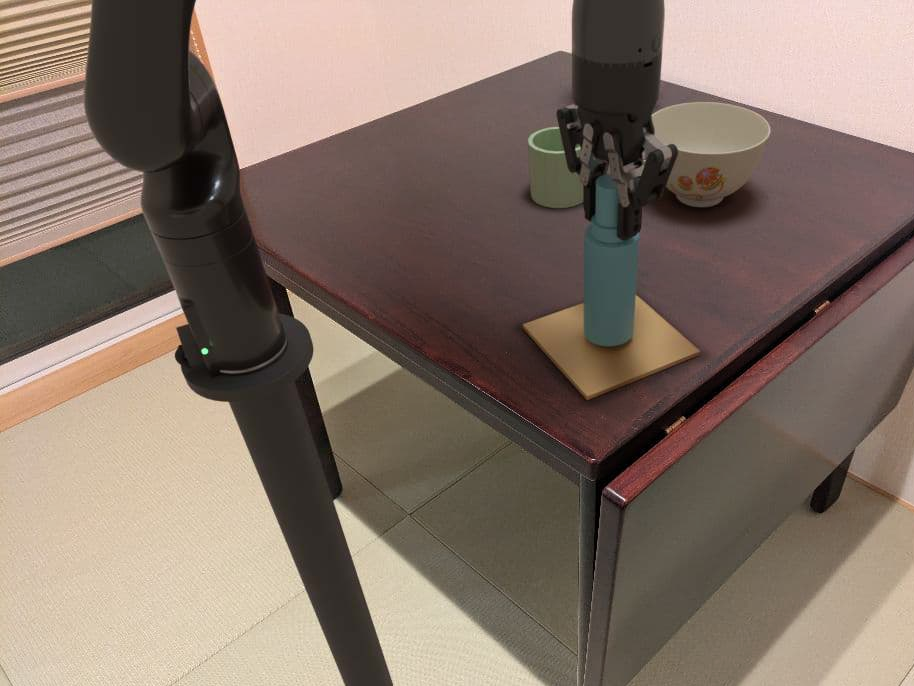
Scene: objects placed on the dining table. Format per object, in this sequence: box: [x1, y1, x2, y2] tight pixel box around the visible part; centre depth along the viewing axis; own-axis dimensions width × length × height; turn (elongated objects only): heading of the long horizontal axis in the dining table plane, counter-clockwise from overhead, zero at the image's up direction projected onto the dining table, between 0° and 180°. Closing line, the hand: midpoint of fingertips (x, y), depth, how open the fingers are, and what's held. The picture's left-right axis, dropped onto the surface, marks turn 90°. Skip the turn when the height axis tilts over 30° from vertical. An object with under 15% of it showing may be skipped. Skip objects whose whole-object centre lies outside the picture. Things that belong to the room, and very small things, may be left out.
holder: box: [527, 126, 584, 209], centre depth 109 cm, size 8×8×8 cm
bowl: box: [652, 101, 772, 208], centre depth 106 cm, size 16×16×10 cm
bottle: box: [583, 173, 640, 346], centre depth 80 cm, size 5×5×18 cm
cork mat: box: [522, 294, 701, 401], centre depth 86 cm, size 14×14×1 cm
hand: (611, 226), depth 77 cm, fingers closed on bottle, 4 cm apart
